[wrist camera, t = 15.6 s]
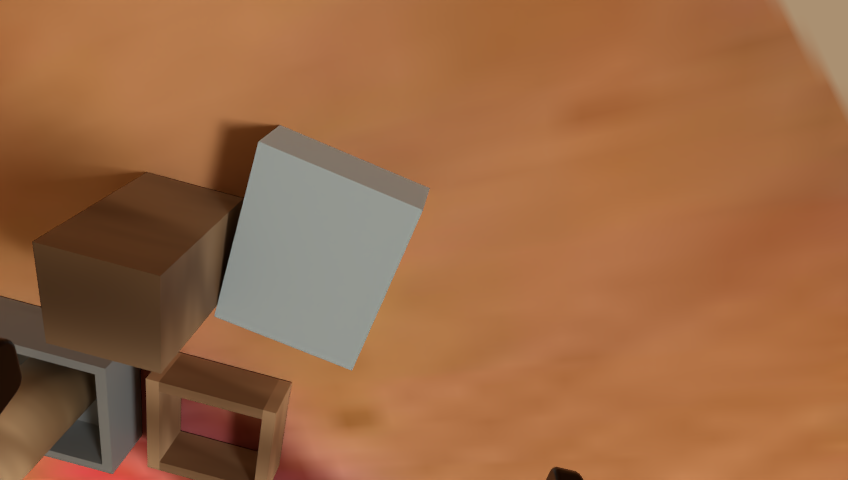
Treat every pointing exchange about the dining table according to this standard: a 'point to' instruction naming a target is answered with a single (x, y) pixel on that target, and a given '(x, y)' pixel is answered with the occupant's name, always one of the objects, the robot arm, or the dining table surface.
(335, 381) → the dining table surface
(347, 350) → the pale grey box
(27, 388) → the dowel
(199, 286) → the block
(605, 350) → the dining table surface
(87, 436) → the tray
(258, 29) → the dining table surface
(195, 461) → the socket block
